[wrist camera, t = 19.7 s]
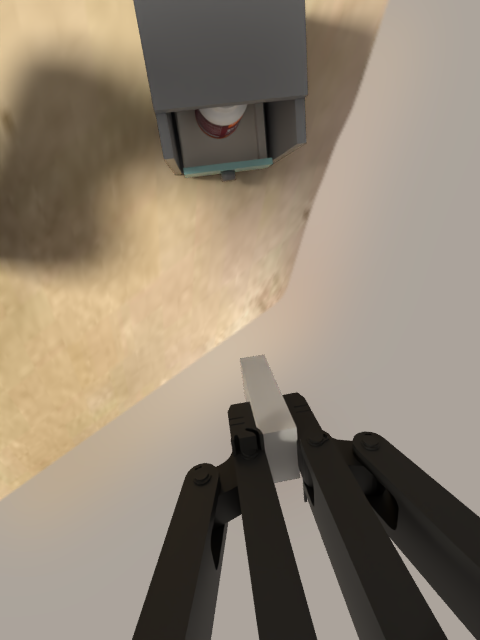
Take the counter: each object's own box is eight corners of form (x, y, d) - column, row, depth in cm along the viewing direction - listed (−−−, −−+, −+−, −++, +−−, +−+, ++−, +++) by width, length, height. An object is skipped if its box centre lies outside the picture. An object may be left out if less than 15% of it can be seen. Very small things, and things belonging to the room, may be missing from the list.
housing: (147, 19, 38) (114, -101, 24) (262, 10, 40) (301, -110, 25) (175, 174, 45) (162, 157, 30) (273, 163, 46) (309, 141, 31)
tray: (161, 32, 38) (156, 11, 34) (254, 24, 39) (260, 3, 35) (187, 186, 45) (185, 184, 41) (266, 177, 46) (273, 173, 41)
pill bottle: (230, 148, 43) (240, 128, 33) (188, 128, 41) (184, 101, 31) (246, 100, 41) (262, 64, 31) (203, 77, 40) (205, 32, 29)
